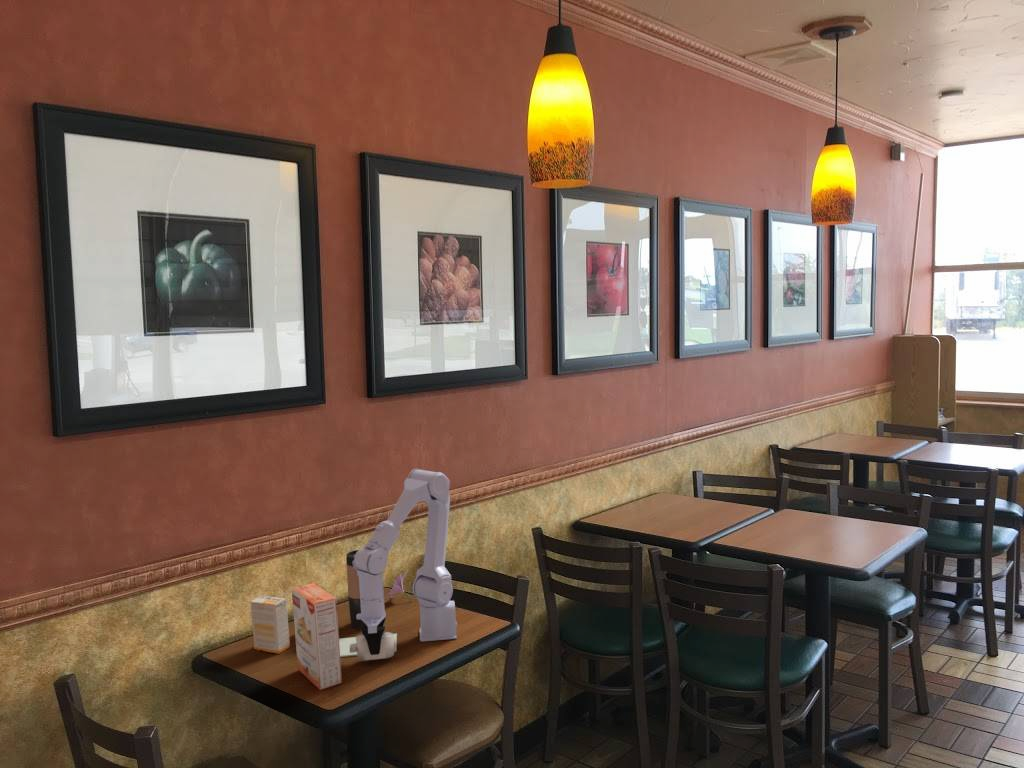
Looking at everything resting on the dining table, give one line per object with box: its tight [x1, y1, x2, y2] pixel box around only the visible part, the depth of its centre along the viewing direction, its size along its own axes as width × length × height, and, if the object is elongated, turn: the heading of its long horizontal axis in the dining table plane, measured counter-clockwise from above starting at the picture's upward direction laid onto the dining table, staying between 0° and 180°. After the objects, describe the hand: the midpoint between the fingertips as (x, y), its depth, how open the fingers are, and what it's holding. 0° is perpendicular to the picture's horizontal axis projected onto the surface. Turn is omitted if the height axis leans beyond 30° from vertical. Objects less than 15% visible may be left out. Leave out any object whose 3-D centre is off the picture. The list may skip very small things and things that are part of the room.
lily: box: [384, 569, 413, 603], centre depth 244 cm, size 12×12×10 cm
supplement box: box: [249, 595, 291, 655], centre depth 213 cm, size 8×5×13 cm, turn 65°
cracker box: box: [291, 582, 343, 691], centre depth 195 cm, size 14×6×21 cm, turn 35°
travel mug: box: [345, 549, 365, 630], centre depth 227 cm, size 8×8×20 cm
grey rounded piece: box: [349, 631, 395, 661], centre depth 203 cm, size 11×4×5 cm, turn 97°
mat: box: [339, 632, 398, 658], centre depth 213 cm, size 16×11×1 cm
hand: (375, 650), depth 203 cm, fingers closed on grey rounded piece, 4 cm apart
